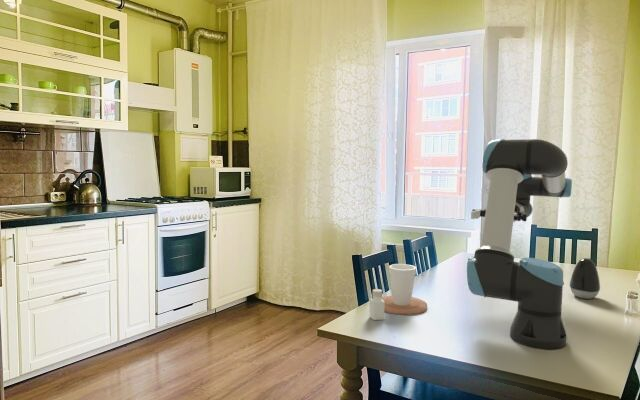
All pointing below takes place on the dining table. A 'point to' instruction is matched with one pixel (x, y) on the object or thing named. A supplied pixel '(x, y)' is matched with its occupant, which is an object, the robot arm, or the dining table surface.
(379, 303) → the pepper shaker
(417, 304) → the terracotta plate
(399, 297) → the foam cup
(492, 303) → the dining table surface
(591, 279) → the dark grey egg shape
